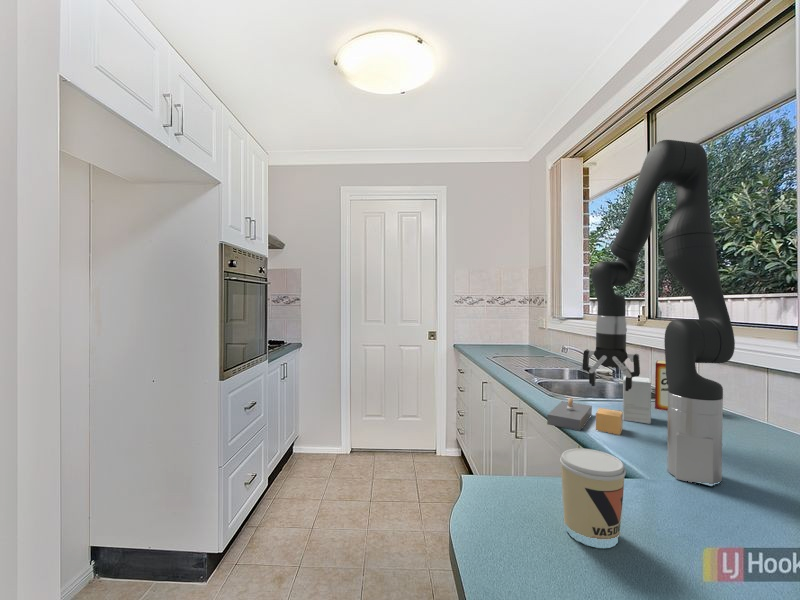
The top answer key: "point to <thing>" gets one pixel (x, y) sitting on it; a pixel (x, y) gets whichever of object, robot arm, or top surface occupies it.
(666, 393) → the baking soda box
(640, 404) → the supplement box
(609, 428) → the orange kitchen sponge
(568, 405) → the board
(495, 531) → the top surface
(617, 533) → the coffee cup
